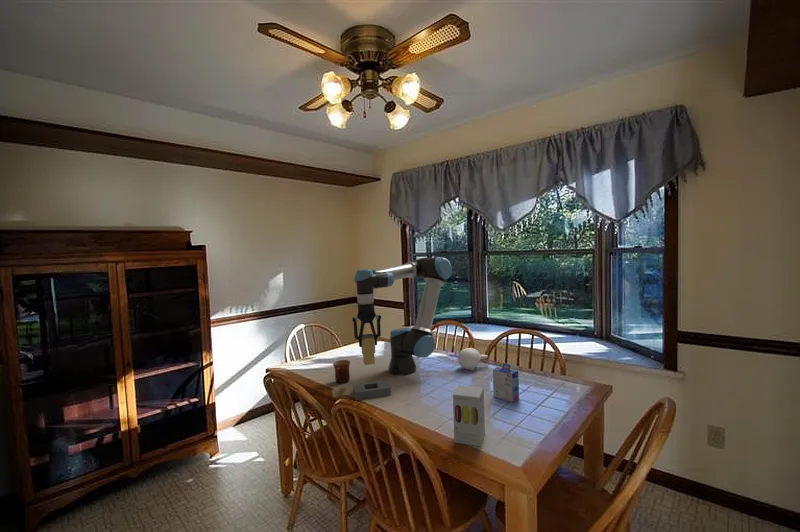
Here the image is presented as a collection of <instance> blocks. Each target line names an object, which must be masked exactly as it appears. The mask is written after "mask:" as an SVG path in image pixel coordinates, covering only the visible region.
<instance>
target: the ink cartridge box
mask: <svg viewBox="0 0 800 532" xmlns="http://www.w3.org/2000/svg"><path fill="white" fill-rule="evenodd" d="M519 381H520V380H519V370H514V369H511V364H509V363H504V362H503V364H502V366H499V367H496V368H494V369H492V386H493V387H492V389H493V390H492V391H493V393H492V395H493V397H495V398H498V399H501V400H504V401H507V402H511V403H514V402H516V401H519V400H520V386H519V385H520V384H519Z"/></svg>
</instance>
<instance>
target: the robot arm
mask: <svg viewBox="0 0 800 532" xmlns="http://www.w3.org/2000/svg"><path fill="white" fill-rule="evenodd" d="M452 273H453V267H452V264H451V262H450V260H448V259H447V258H446V257H440V256H437V257H436V256H435V257H422V258H421V257H420V258H417V259H414V260H409V261H407V262H406V263H404V264H398V265H393V266H388V267H383V268H376V269H371V268H365V269H358V270H356V272H355V275H354V279H353V280H354V283H355V284H356V294H357V295H356V298H357V312H358V313H357V315H355V316H354V317H352V318H351V320H352V322H353V336H354V339H355V340H358V346H359V348H360V349H361V354H362V355H363V354H364V341H363V339H362V335H363V334H364V329H365V326H366V325H365V324H369V326H370V329H371V334H372V335H373V339H374V354H376V346H377V345H378V338H379V337H381V336H382V335H381V332H382V331H381V330H382V329H381V319H382V315H381V314H376V312H375V303H374V301H375V299H374V298H375V297H374V295H375V294H374V290H375V289H381V288H388V287H391V286H393V284H394V283H395V281H397V280H402V279H406V278H409V279H415V278H418V279H423V280H424V289H423V291H422V292H423V293H422V296H421V300H420V303H419V308H418V312H417V316H416V321H415V325H414V326H412V327H411V328H410V327H402V328H401V327H400V328H395V329H393V330H391V331H390V332H389V333H390V334H389V336H390V337H389V340H390V355H391V357H390V361H389V363H388V364H389V365H388V373H390V374H393V375H395V376H396V375H399V376H401V375H402V376H404V375H411V374H414V373H415V372H416V371H417V365H416V362H415V359H414V357H417V358H422V359H423V358H428V357H429V356H430V355H432V354H433V352H434V351H435V349H436V339H435V338H434V337H433V335H434V334H433V333H434V332H433V331H432V328H433V327H432V326H433V322H434V317H435V314H436V309H437V305H438V301H439V297H440V292H441V289H442V286H444V285H445V283H446V280H448V279H449V278H451V276H452ZM374 319H376V329H375V325H374V322H373V321H374ZM358 320H359V321H360V326H359V327H360V328H359V333H358V324H357V323H358Z"/></svg>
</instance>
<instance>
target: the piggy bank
mask: <svg viewBox="0 0 800 532" xmlns="http://www.w3.org/2000/svg"><path fill="white" fill-rule="evenodd" d="M488 358H489V355H488V354H480V352H479V350H477V349H475V348H473V347H466V348H464V349H461V350H460V351H459V353H458V355H457V361H458V364H459V365H460V366H461V367H462V368H463V369H466V370H472V371H473V370H474V371H475V370H476V367H477V366H479V364H480V362H481V359H482V360H483V359H484V360H485V359H488Z"/></svg>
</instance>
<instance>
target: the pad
mask: <svg viewBox="0 0 800 532" xmlns="http://www.w3.org/2000/svg"><path fill="white" fill-rule="evenodd" d="M331 395H332V398H337V397H345V396H351V395H353V390H352V388H351V386H349V387H341V388H336V389H331Z"/></svg>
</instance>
